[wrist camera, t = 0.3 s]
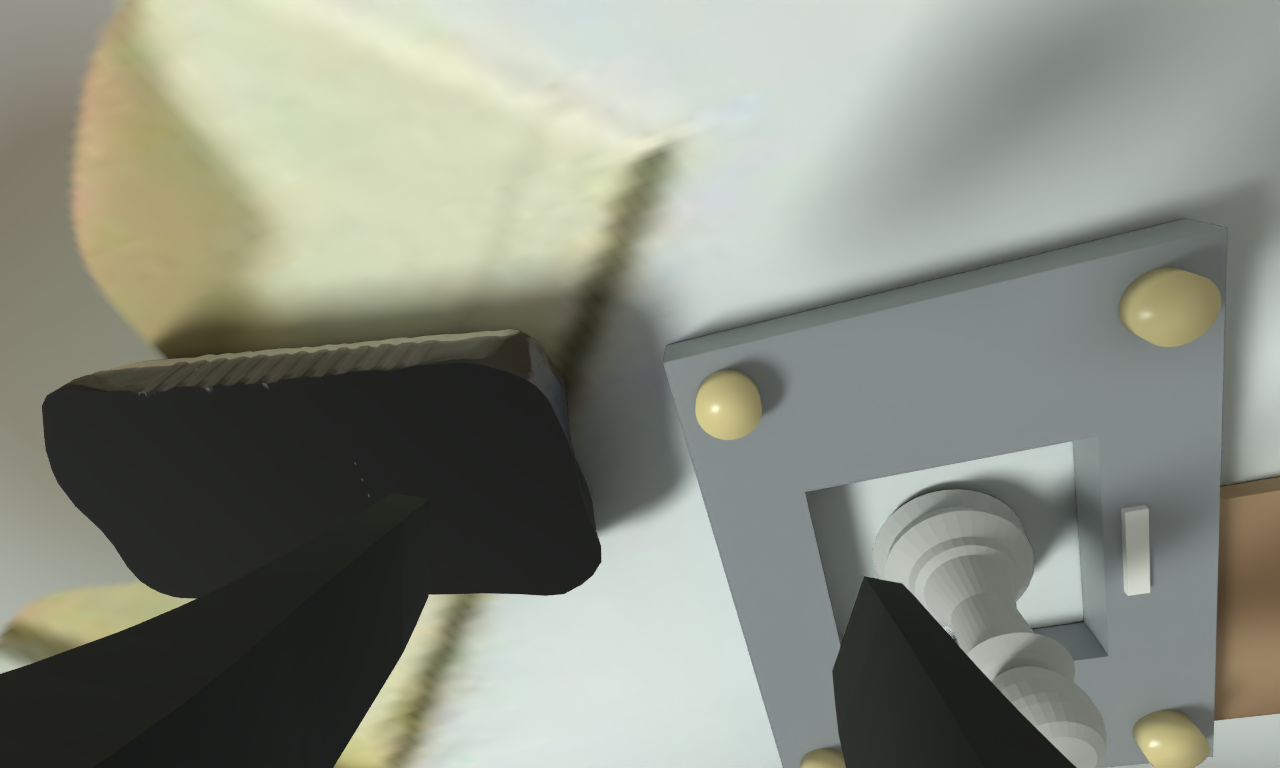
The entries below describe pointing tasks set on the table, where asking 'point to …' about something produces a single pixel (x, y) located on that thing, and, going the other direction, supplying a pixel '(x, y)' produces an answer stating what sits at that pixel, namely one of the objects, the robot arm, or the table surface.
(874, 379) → the cover plate
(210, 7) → the table surface
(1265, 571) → the walnut pad
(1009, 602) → the chess piece
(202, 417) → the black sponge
